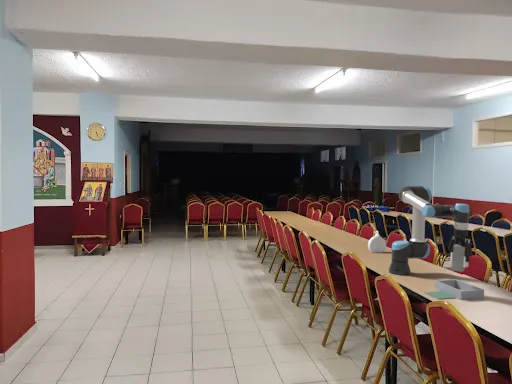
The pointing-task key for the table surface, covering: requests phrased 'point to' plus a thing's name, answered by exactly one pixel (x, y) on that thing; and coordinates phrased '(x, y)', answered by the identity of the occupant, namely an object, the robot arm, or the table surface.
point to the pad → (440, 295)
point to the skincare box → (458, 258)
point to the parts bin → (468, 292)
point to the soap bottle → (377, 244)
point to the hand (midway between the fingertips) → (459, 264)
